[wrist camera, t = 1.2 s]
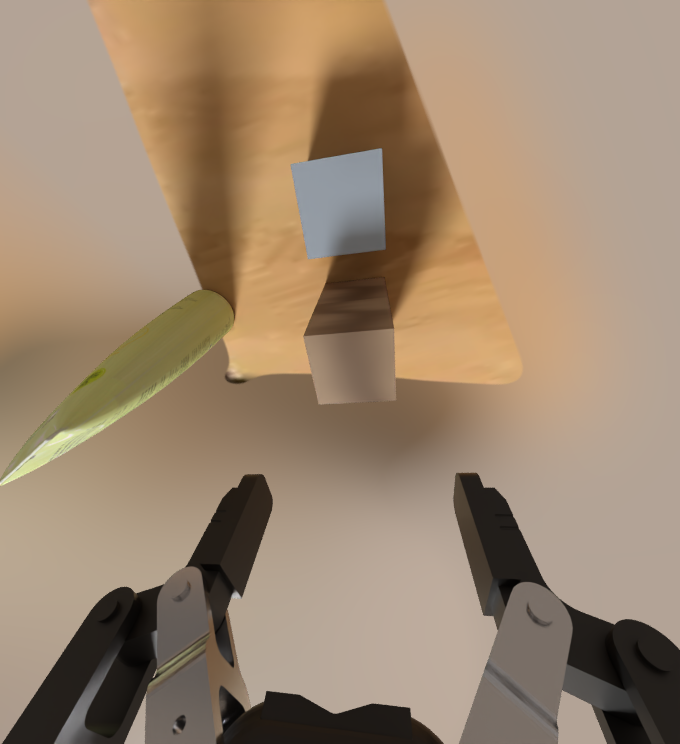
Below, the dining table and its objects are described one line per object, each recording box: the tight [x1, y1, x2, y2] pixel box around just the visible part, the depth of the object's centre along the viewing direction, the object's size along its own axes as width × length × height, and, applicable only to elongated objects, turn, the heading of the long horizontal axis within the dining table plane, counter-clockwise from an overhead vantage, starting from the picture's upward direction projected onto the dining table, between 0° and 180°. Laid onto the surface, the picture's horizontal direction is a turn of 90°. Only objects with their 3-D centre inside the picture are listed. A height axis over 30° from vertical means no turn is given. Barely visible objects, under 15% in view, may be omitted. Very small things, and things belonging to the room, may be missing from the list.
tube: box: [0, 290, 234, 486], centre depth 20 cm, size 6×5×20 cm
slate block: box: [291, 148, 386, 259], centre depth 20 cm, size 6×6×6 cm
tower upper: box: [303, 297, 396, 404], centre depth 20 cm, size 6×6×6 cm
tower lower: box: [317, 277, 388, 304], centre depth 25 cm, size 6×6×6 cm
